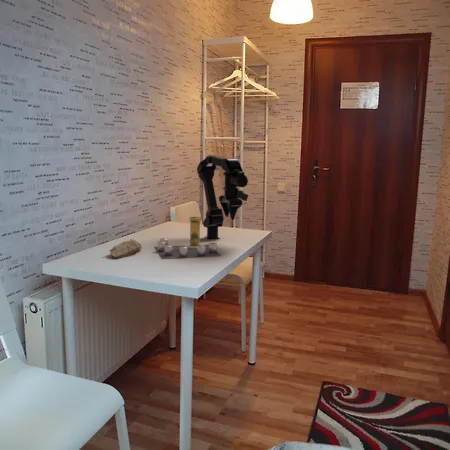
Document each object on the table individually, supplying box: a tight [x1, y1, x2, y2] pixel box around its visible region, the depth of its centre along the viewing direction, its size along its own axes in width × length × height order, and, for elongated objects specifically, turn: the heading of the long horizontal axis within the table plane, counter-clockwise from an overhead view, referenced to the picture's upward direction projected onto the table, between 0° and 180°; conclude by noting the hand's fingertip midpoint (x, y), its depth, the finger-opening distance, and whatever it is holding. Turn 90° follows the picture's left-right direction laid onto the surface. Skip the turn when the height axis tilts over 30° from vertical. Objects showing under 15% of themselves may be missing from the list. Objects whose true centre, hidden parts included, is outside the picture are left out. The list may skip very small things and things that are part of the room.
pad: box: [185, 243, 205, 249], centre depth 207 cm, size 9×9×1 cm
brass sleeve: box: [188, 216, 202, 246], centre depth 205 cm, size 5×5×13 cm
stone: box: [109, 238, 142, 260], centre depth 193 cm, size 21×6×10 cm
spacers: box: [157, 237, 218, 259], centre depth 194 cm, size 16×28×4 cm, turn 70°
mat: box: [153, 243, 223, 260], centre depth 197 cm, size 24×26×1 cm
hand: (229, 218), depth 211 cm, fingers open, 9 cm apart
